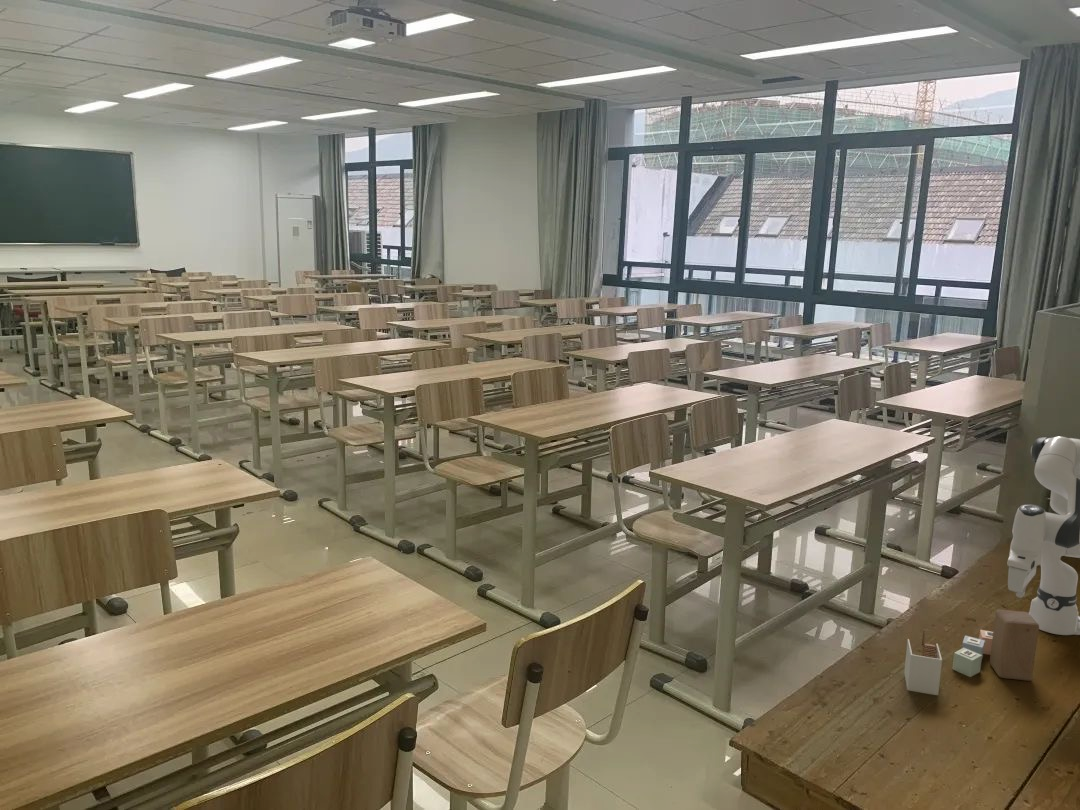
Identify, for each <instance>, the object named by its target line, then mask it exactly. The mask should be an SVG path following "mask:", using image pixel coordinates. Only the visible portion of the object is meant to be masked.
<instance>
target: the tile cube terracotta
mask: <svg viewBox="0 0 1080 810" xmlns="http://www.w3.org/2000/svg"><path fill="white" fill-rule="evenodd" d="M978 637H979V638H978V639H981V640H985V644H984V652H983V655H989V656H990V654H991V646H992V639H993V631H989V630H984V629H980V630H979V636H978Z"/></svg>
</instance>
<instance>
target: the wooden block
mask: <svg viewBox="0 0 1080 810" xmlns="http://www.w3.org/2000/svg"><path fill="white" fill-rule="evenodd" d="M994 616H995V617H994V624H993V631H992V632H993V639H992V646H991V654H990V655H989V664H990V666H991V668H992V669H993V670H994V671H995V673H996V675H997V676H998V678H1002V679H1008V680H1009V679H1011V680H1021V681H1032V680H1033V674H1034V667H1035V660H1036V652H1037V645H1038V637H1039V631H1040V629H1039V624H1038V623H1037V622H1036V621H1035V620H1034V619H1033V618H1032V616H1031V615H1030V614H1029V612H1027V611H1021V610H1020V611H1019V610H1008V609H1007V610H1006V609H997V610H996V611H995V615H994Z"/></svg>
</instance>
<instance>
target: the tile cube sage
mask: <svg viewBox="0 0 1080 810" xmlns="http://www.w3.org/2000/svg"><path fill="white" fill-rule="evenodd" d="M981 660H982V661H983V658H982V655H980V654H978V653H976V652H973V651H971V650H969V649H966V648H962V647H961V648H960V649H959V650H956V651H955V652H954V653H953V660H952V668H951V669H952V670H953V671H955V672H958V673H960V674H962V675H964V676H966V677H969V678H972V677H973V676H976V675H977V674H979V673H980V672H981V668H982V661H981Z"/></svg>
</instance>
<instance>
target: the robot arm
mask: <svg viewBox="0 0 1080 810" xmlns="http://www.w3.org/2000/svg"><path fill="white" fill-rule="evenodd" d="M1030 456H1031V460H1032V461H1033V462H1034V464H1035V465H1034V471H1033V472H1034V473H1033V475H1034V476H1035V479H1036V480H1037V481H1038V483H1039V484H1040V485H1042V486H1043V487H1044V488H1045V489H1048V490H1049V491H1050V499H1049V500H1050V501H1049V506H1050V507H1051V509H1052V511H1054V512H1055V513H1054V512H1053V513H1052V512H1048V511H1046V510H1045V508H1043V507H1041V506H1039V505H1036V504H1022V505H1020V506H1019V507H1018V508H1017V510H1016V513H1015V514H1014V516H1013V519H1012V523H1011V525H1012V526H1011V530H1012V531H1011V532H1012V540H1011V542H1010V546H1009V547H1010V548H1009V555H1008V559H1007V562H1006V563H1007V566H1008V575H1007V588H1008V590H1009V591H1011V592H1014V593H1016V594H1015V595H1016V597H1017V598H1020V599H1022V598H1023V597H1024V596H1025V594H1026V590H1027V589H1026V588H1027V587H1028V585H1029V583H1030V582H1031V581H1032V580H1033V578H1034V577H1035V576H1036V573H1037V566H1040V583H1039V586H1038V587H1037V591H1036V592H1037V594H1036V597H1034V598H1033V599H1031V602H1030V606H1029V607H1030V608H1029V611H1028V613H1029V614H1030V615H1031V616H1032V618H1033V619H1034V620H1035V621H1036V622H1037V623H1038V624H1039V631H1043V632H1045V633H1050V634H1054V635H1061V636H1073V635H1074V636H1080V615H1079V613H1080V611H1078V609H1079V608H1078V605H1077V600H1078V597H1077V588H1078V580H1079V575H1078V572H1077V571H1076V569H1075V568H1074V567H1072V566H1070V565H1069V564H1068V563H1066V562H1064V561H1062V560H1061V558H1062V557H1063V556H1064V557H1071V558H1078V559H1080V439H1079V438H1075V437H1074V438H1072V437H1069V438H1068V437H1067V436H1054V437H1049V436H1045V437H1039V438H1037V439H1035V440H1034V441H1033V443H1032V445H1031V448H1030Z"/></svg>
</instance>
